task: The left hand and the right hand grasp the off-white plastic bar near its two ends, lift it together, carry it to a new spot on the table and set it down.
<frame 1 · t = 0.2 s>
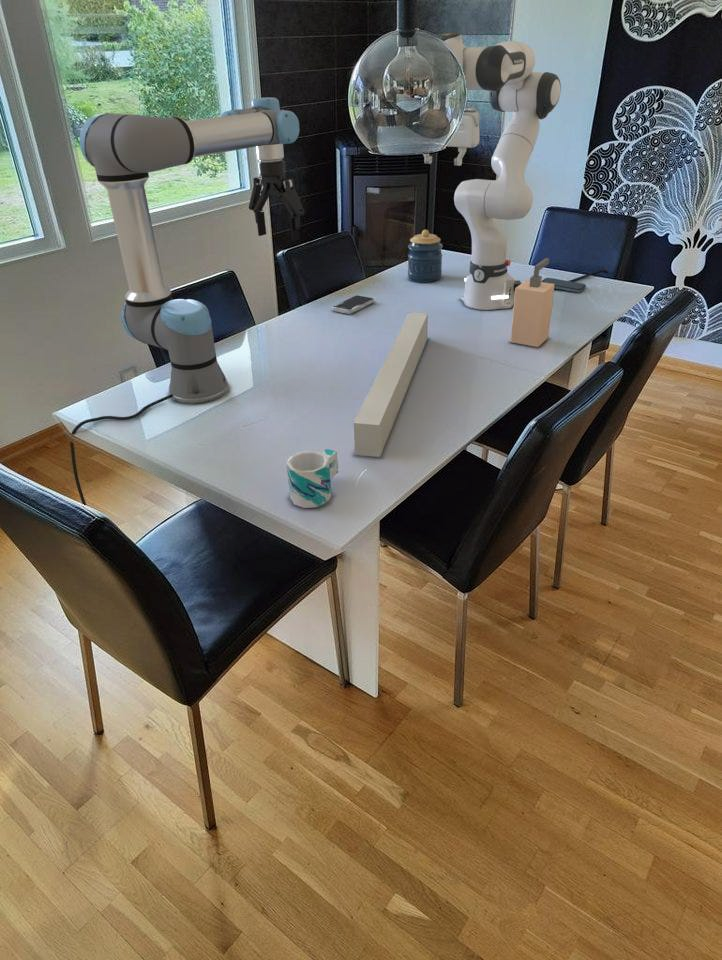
left hand: (278, 237, 202), 28 cm above the table, tool pointing down, fingers open, 13 cm apart
right hand: (442, 164, 183), 48 cm above the table, tool pointing down, fingers open, 8 cm apart
canister: (424, 278, 257), on the table
smartphone: (353, 306, 232), on the table
bar: (397, 387, 176), on the table
mug: (317, 492, 136), on the table
smartphone 2: (562, 287, 241), on the table
soap dispenser: (531, 338, 201), on the table
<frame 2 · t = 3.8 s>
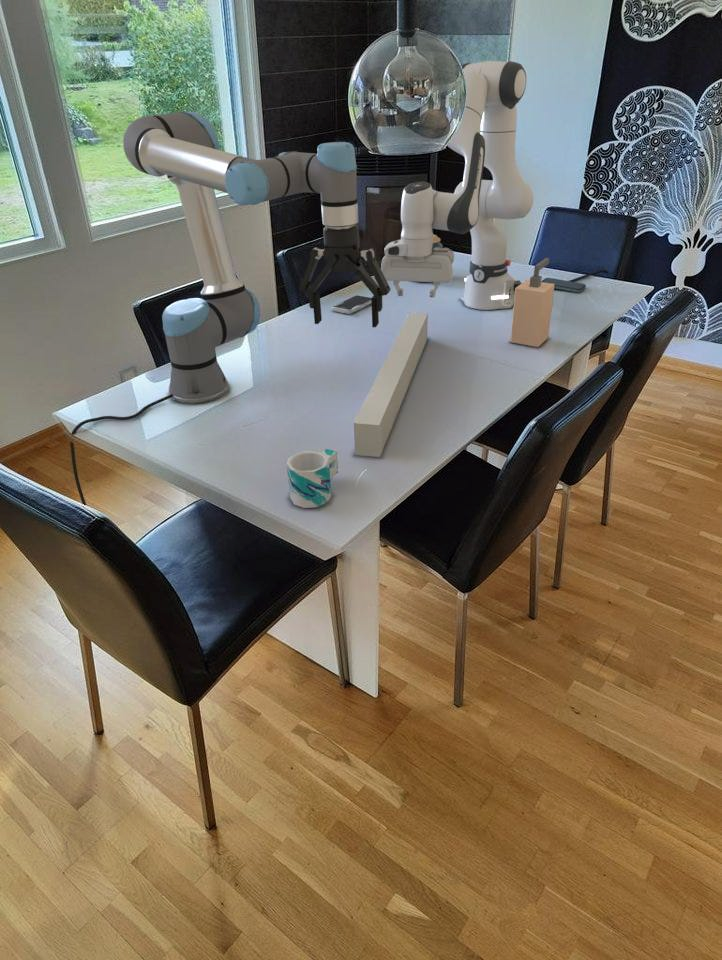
left hand: (346, 323, 151), 23 cm above the table, tool pointing down, fingers open, 13 cm apart
right hand: (416, 296, 193), 14 cm above the table, tool pointing down, fingers open, 8 cm apart
nothing on the table moved.
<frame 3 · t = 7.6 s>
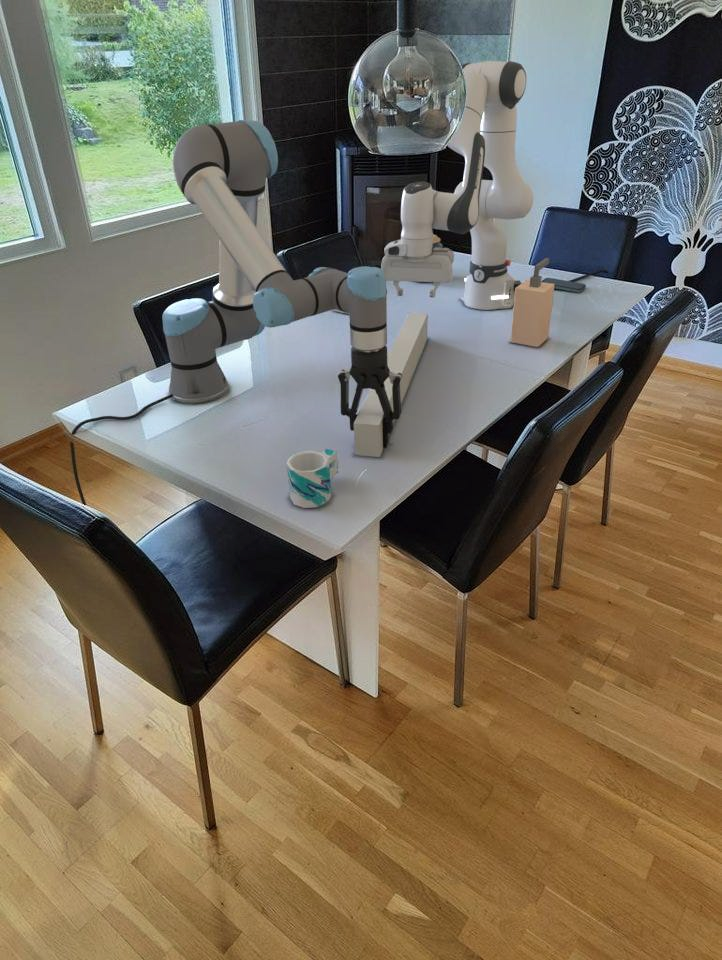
left hand: (371, 443, 150), 1 cm above the table, tool pointing down, fingers closed on bar, 6 cm apart
right hand: (416, 296, 193), 14 cm above the table, tool pointing down, fingers open, 8 cm apart
bar: (397, 387, 176), on the table, touching left hand
everything else where it was.
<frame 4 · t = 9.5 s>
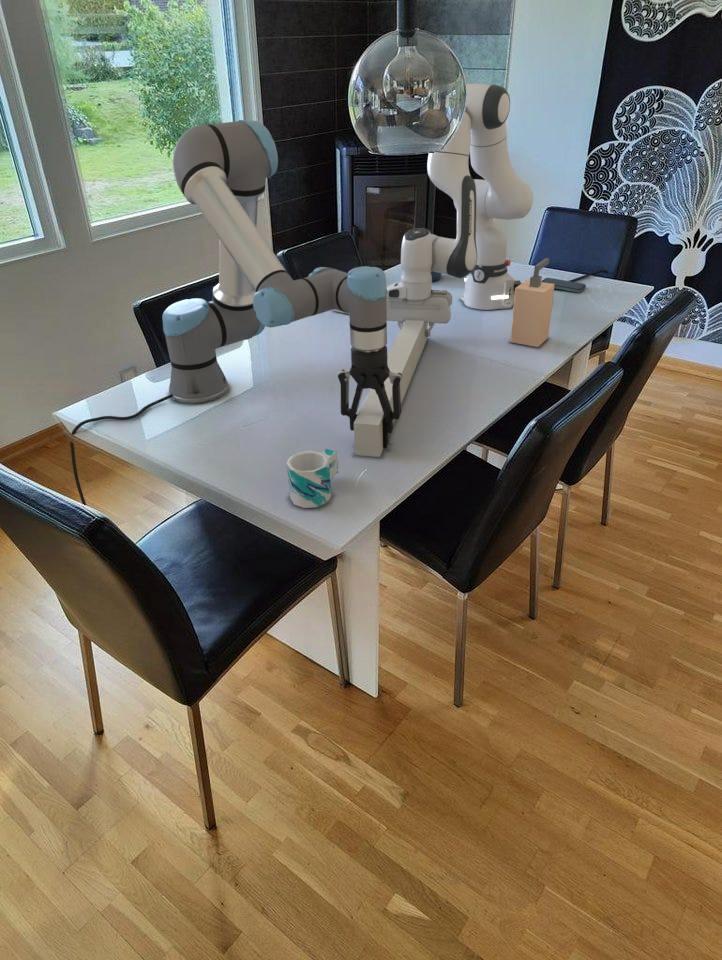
left hand: (371, 443, 150), 1 cm above the table, tool pointing down, fingers closed on bar, 6 cm apart
right hand: (415, 335, 199), 3 cm above the table, tool pointing down, fingers closed on bar, 5 cm apart
bar: (397, 387, 176), on the table, touching left hand, right hand
everything else where it was.
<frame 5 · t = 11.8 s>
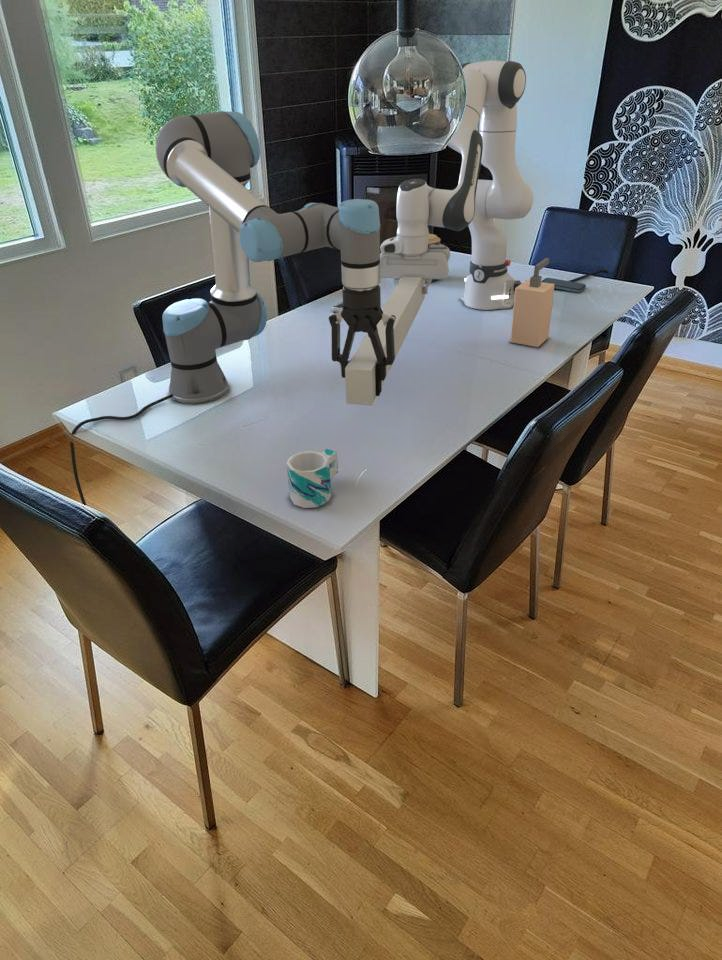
left hand: (364, 391, 144), 13 cm above the table, tool pointing down, fingers closed on bar, 6 cm apart
right hand: (412, 293, 193), 15 cm above the table, tool pointing down, fingers closed on bar, 5 cm apart
bar: (392, 342, 170), point 12 cm above the table, touching left hand, right hand
everything else where it was.
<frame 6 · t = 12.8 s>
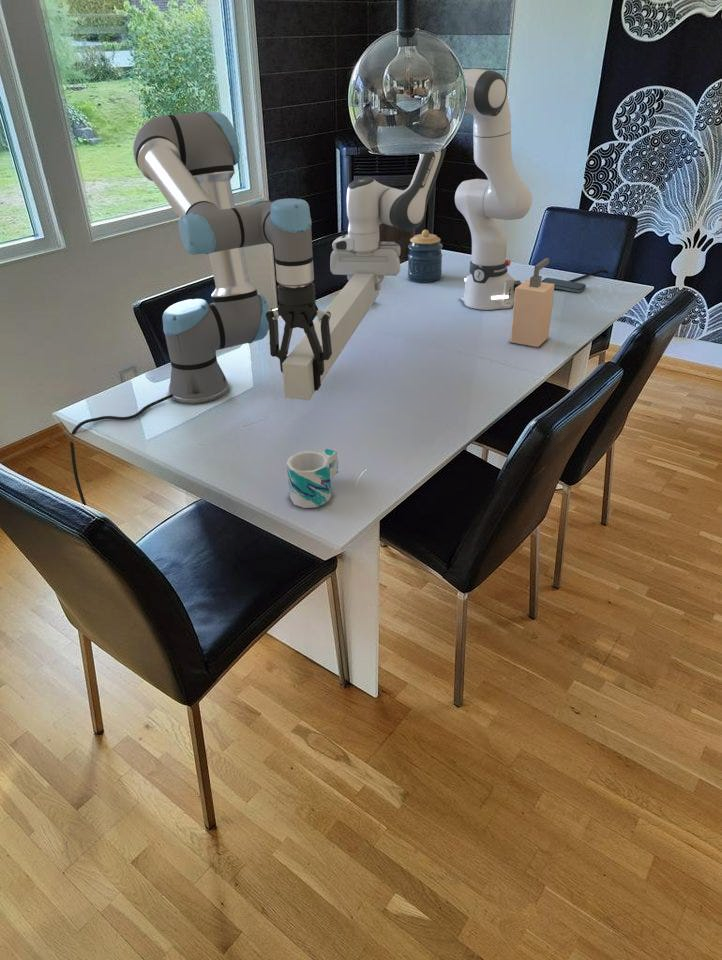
left hand: (303, 386, 148), 13 cm above the table, tool pointing down, fingers closed on bar, 6 cm apart
right hand: (366, 289, 197), 15 cm above the table, tool pointing down, fingers closed on bar, 5 cm apart
bar: (339, 337, 173), point 12 cm above the table, touching left hand, right hand
everything else where it was.
when the left hand's fingers open (2 cm above the table, at t = 16.2 s): bar stays where it is, on the table.
when the right hand's fingers open (4 cm above the table, at t = 16.4 s): bar stays where it is, on the table.
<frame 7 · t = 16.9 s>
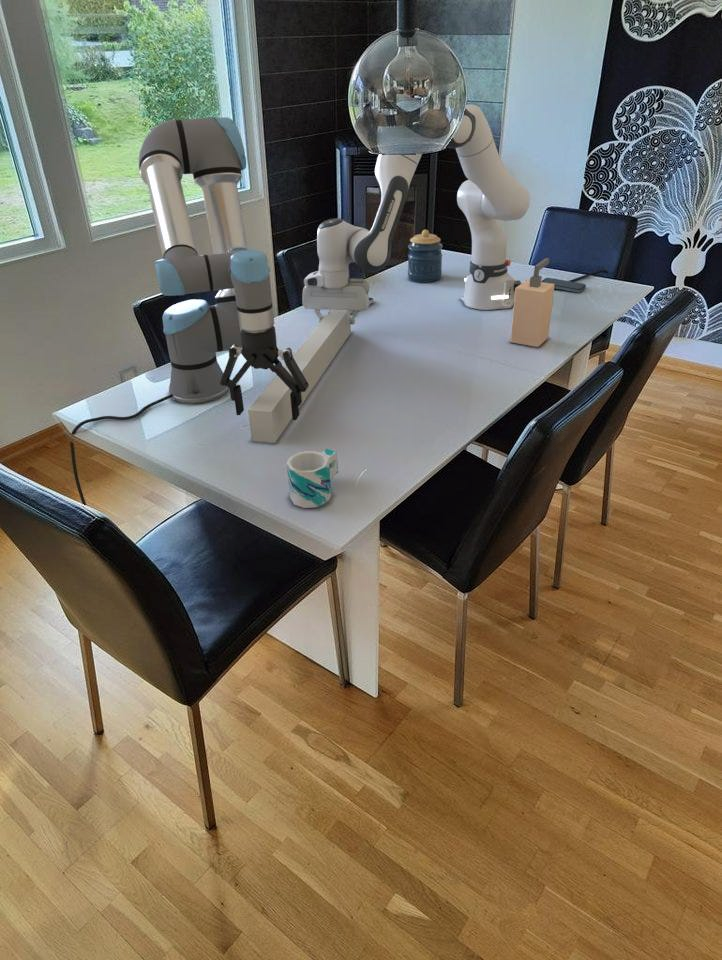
left hand: (267, 415, 155), 5 cm above the table, tool pointing down, fingers open, 13 cm apart
right hand: (337, 323, 205), 5 cm above the table, tool pointing down, fingers open, 8 cm apart
bar: (309, 378, 182), on the table
everything else where it was.
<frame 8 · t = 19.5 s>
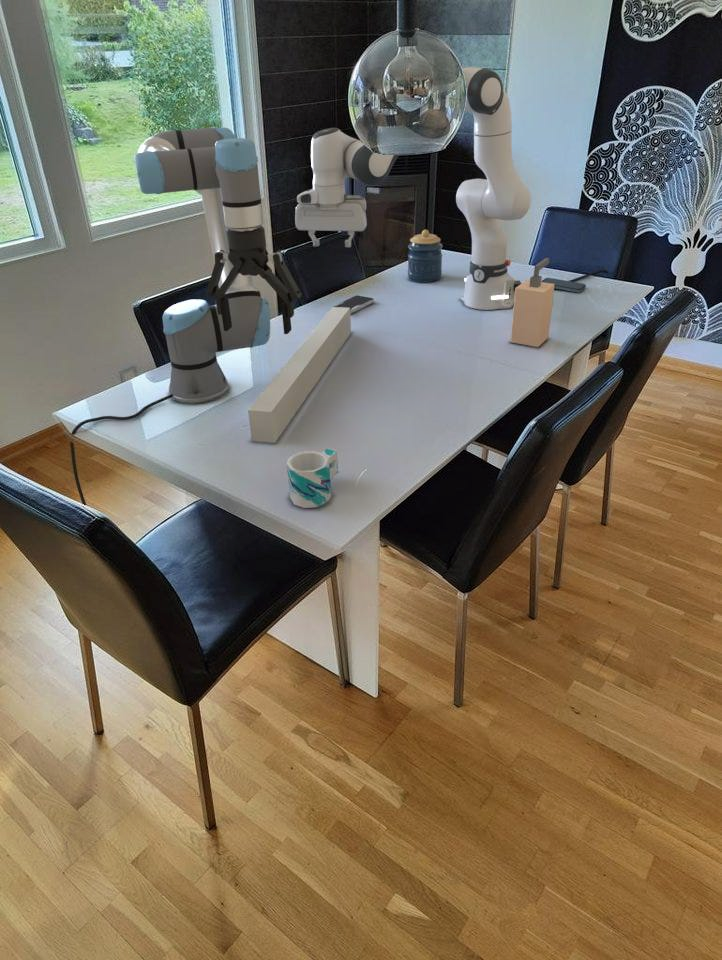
left hand: (257, 330, 144), 25 cm above the table, tool pointing down, fingers open, 13 cm apart
right hand: (332, 246, 192), 28 cm above the table, tool pointing down, fingers open, 8 cm apart
nothing on the table moved.
at the end: bar inside the target area (0.3 cm from its centre), on the table; bar tilted 0°; bar never tilted more than 1° during the clip; both hands held the bar at the same time; the left hand is holding nothing; the right hand is holding nothing; bar at rest at the end (0.0 cm/s) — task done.
